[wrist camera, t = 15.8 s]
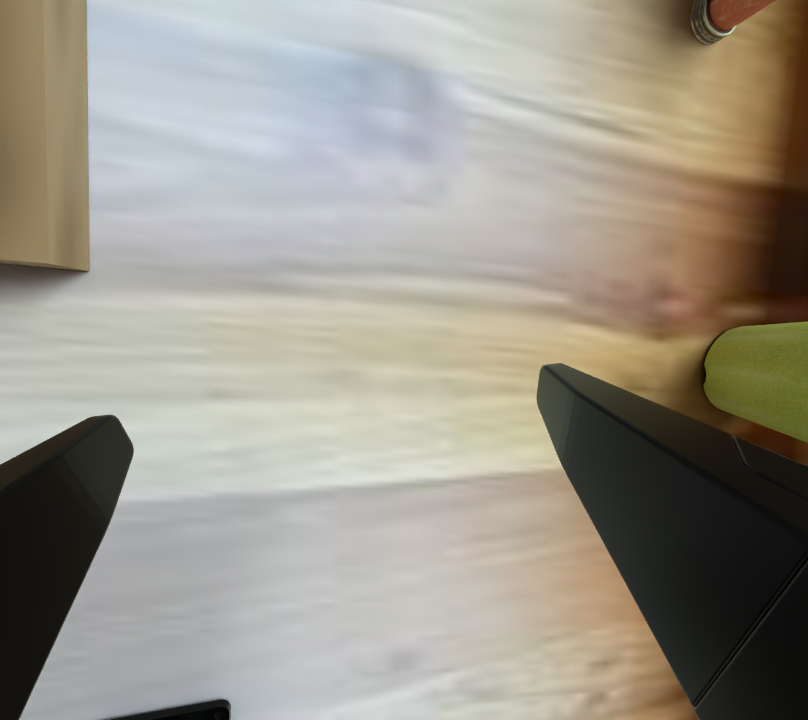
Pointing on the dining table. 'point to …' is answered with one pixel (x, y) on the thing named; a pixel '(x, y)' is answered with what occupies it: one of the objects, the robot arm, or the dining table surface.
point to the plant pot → (762, 376)
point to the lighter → (721, 17)
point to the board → (44, 134)
